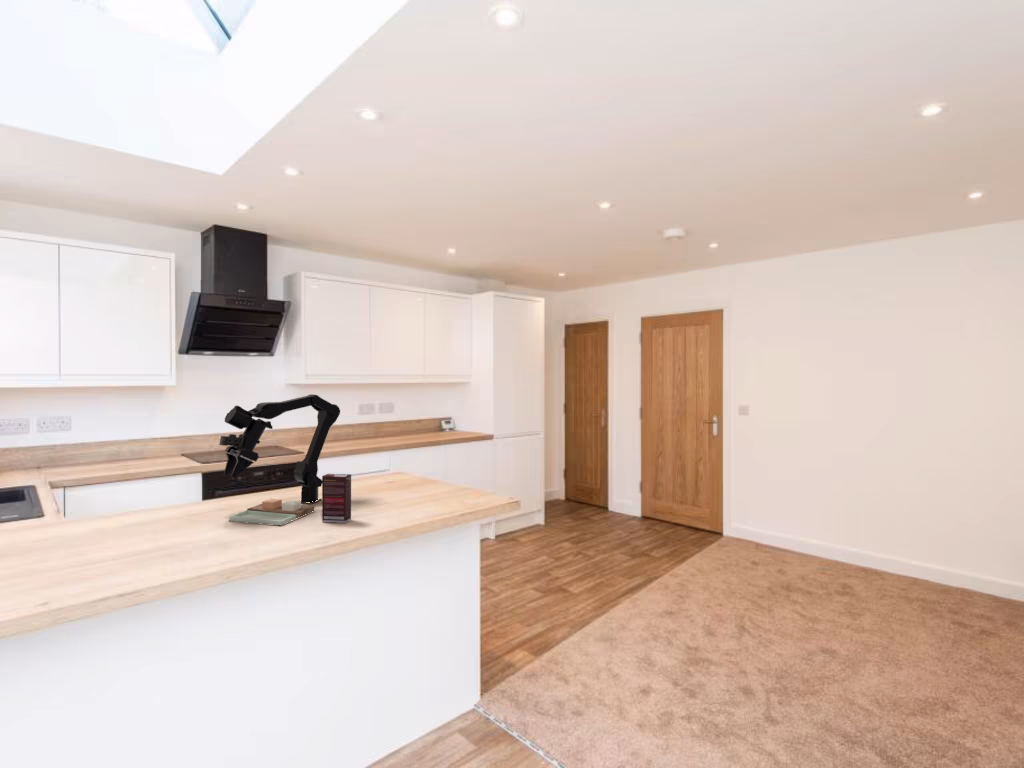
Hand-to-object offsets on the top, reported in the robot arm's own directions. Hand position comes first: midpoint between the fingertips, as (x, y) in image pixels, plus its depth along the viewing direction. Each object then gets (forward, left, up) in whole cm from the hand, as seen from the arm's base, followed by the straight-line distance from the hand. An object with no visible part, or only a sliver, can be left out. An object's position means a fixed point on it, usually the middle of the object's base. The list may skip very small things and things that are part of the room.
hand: (228, 475), depth 178 cm
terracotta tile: (-8, +11, -12) cm, 18 cm away
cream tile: (-8, +19, -12) cm, 24 cm away
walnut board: (-9, +14, -14) cm, 22 cm away
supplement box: (-6, +38, -15) cm, 41 cm away
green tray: (0, +14, -14) cm, 20 cm away
